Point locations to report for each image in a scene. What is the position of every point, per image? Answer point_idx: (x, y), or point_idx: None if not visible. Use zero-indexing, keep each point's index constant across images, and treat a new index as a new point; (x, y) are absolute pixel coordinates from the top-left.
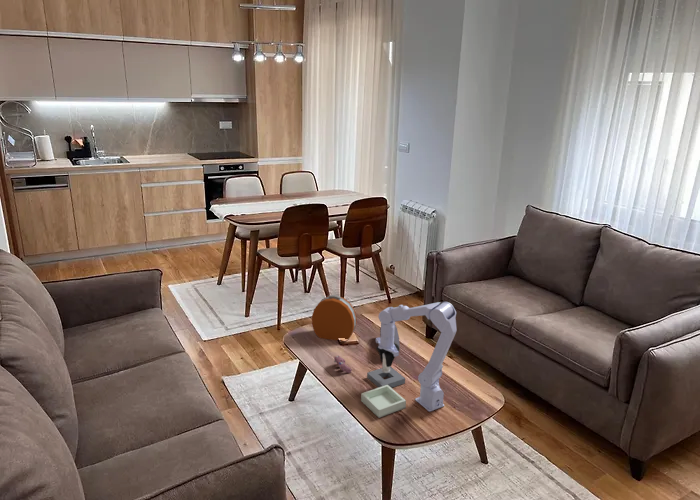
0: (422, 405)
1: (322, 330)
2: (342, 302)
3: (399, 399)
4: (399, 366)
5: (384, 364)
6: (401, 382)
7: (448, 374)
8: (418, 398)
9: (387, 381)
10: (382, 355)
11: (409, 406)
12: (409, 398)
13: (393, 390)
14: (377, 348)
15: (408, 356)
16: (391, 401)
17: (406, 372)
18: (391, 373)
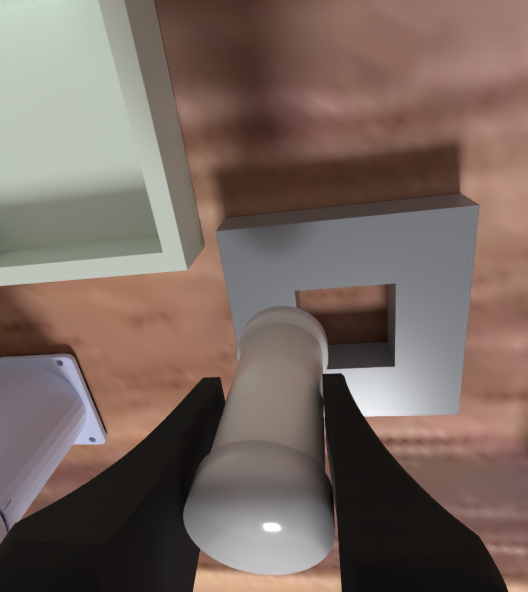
0: (4, 358)
1: None
2: None
3: (10, 260)
4: (447, 456)
5: (246, 374)
6: None
7: (247, 576)
8: (69, 374)
9: (260, 298)
10: (284, 465)
11: (17, 293)
12: (96, 334)
13: (94, 271)
14: (413, 555)
15: (511, 542)
16: (65, 211)
17: None
18: (350, 375)
